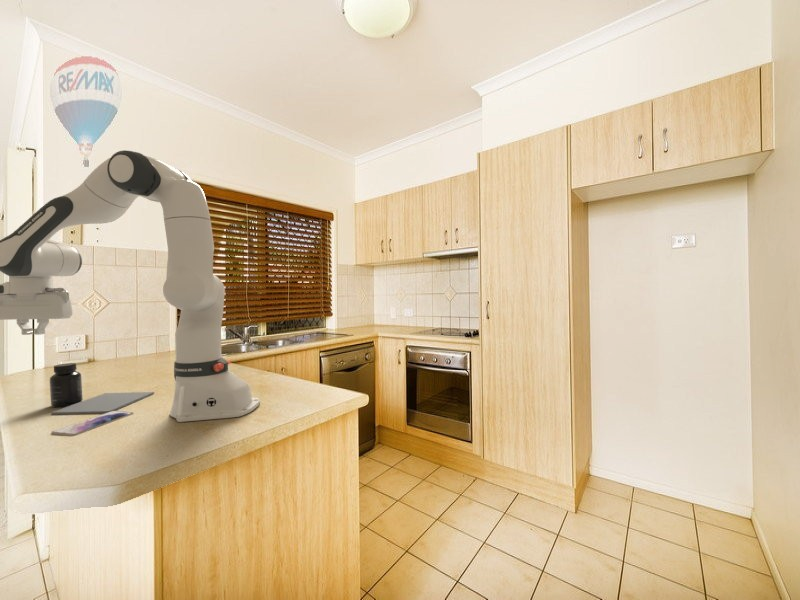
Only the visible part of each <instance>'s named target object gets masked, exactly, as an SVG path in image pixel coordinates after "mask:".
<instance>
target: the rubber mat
mask: <svg viewBox="0 0 800 600" xmlns="http://www.w3.org/2000/svg"><path fill="white" fill-rule="evenodd" d="M152 395H155V391H148V392H147V391H144V392H143V391H141V392H137V391H135V392H133V391H132V392H104V393H102V394H99V395H96V396H93V397H91V398H90V397H89V398H87V399H85V400H82V402H79V403H76V404H73V405H71V406H67V407H61V408H60V409H57V410H53V411H51V413H50V415H55V416H56V415H83V414H84V415H85V414H87V415H89V414H92V415H93V414H105V413H108V412H111V411H119V410H120V409H123V408H125V407H127V406H129V405H132V404H134V403H137V402H138V401H141V400H144V399H145V398H148V397H151V396H152Z"/></svg>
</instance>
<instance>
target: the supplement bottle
mask: <svg viewBox="0 0 800 600" xmlns="http://www.w3.org/2000/svg"><path fill="white" fill-rule="evenodd" d="M77 369H78V368H77V363H76V362H69V363H68V362H67V363H61V364H55V365H54V366H53V373H54V374H53V375H51V376H50V377H49V391H50V392H49V394H50V405H51V408H56V409H57V408H65V407H68V406H71V405H73V404H76V403H79V402H82V401H84V400H83V383H82V382H83V381H82V374H81V372H79V371H77Z"/></svg>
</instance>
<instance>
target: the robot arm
mask: <svg viewBox="0 0 800 600" xmlns="http://www.w3.org/2000/svg"><path fill="white" fill-rule="evenodd" d="M138 197H141V198H144V199H147V200H148V201H151V202H155V203H160V204H161V207H162V215H163V222H164V230H165V231H164V232H165V236H166V237H165V238H166V244H167V262H166V263H167V265H166V275H165V276H166V277H165V281H164V284H163V288H162V292H163V296H164V298H165V300H166V301H167V303H169V304H170V305H171V306H172V307H174V308H175V309H178V310H180V314H179V315H180V316H179V320H178V325H177V328H176V331H175V339H174V341H175V342H174V343H175V361H174V363H173V377H174V381H175V383H174V384H175V385H174V386H175V387H174V396H173V401H172V405H171V409H170V412H169V416H170V417H172V418H175V419H176V422H178V423H184V422H193V421H194V422H196V421H205V420H206V421H207V420H217V419H218V420H219V419H228V418H230V419H231V418H239V417H242V416H244V415H245V416H246V415H247V414H249V413H251V412H252V411H254V410H255V409H257V407H259V406H260V398H258V397H254V396H252V391H251V387H250V385H249V383H248V382H247V381H246V380H244V379H242V378H241V377H239V376H237V375H236V374H235V373H233V372H232V371H230V370H229V365H231V359H228V360H227V359H225V358H223V357H222V323H223V316H224V315H223V314H224V305H225V294H226V288H225V285H224V283H223V281H222V280H221V279H220V278H219V277H218V276H217V275H215V274H214V252H215V243H214V234H213V229H212V221H211V214H210V211H209V205H208V201H207V199H206V196H205V192H204V191H203V189H202V188H201V186H200V185H199V184H198V183H196V182H194V181H192V179H191V178H190V177H189V176H188V175H187V174H186V173H184V172H183V171H181V170H179V169H175V168H174V167H172V166H170V165H169V164H166V163H165V162H163V161H161V160H159V159H156V158H153V157H151V156H147V155H144V154H142V153H141V152H137V151H134V150H133V151H132V150H118V151H116V152H115V153H113V154H112V155H111V157H108V158H107V159H106V160H104V161H103V162H102V163H101V164H99V165H98V166H96V168H95V169H94V170H93V171H91V173H90V174H89V175H88V176H87V177H86V178H85V180H84V181H83V182H82V183H81V184H80V185H78V186H77V187H76V188H75V189H73V190H71V191H70V192H68V193H65V194H63V195H61V196H58V197H55V198H52V199H51V200H49V201H48V202H46V203H44V204H43V206H41V207H40V208H38V210H37V211H35V213H33V214H32V215H31V216H30V217H28V219H27V220H26V221H25V222H24V223H22V224H21V225H20V226H19V227H17V229H15V230H14V231H13V232H12V233H11V234H9V235H7V236H5V237H3V238H2V239H0V272H1V273H3V274H4V275H6V276H7V277H8V281H5V282H3V283H0V320H2V321H3V320H8V321H10V320H12V321H13V320H16V325H17V326H18V327H19V328H20V329H21V330H20V331H21V335H23V336H27V335H29V336H30V335H39V336H40V335H45V334H46V330H45V329H46V328H47V326H48V325H49V324H50V320H60V319H61V320H62V319H63V320H64V319H70V318H71V317H72V315H73V307H72V302H71V299H70V292H69V291H68V290H66V289H65V288H64V287H54V282H53V281H54V280H53V277H69V276H74V275H76V274H77V273H78V272H79V271H80V270H81V268H82V265H83V259H82V254H81V253H80V252H79V250H78V249H77V248H76V247H74V246H72V245H68V244H64V243H62V242H61V243H60V242H58V241H55V240H53V239H52V237H53V236H55V235H56V234H57V232H59V231H61V230H63V229H65V228H68V227H71V226H79V225H89V224H90V225H92V224H95V225H96V224H108V223H112V222H116V221H117V220H118V219H120V218H121V217H122V216H123V215H124V214H126V212H127V211H128V209H129V208H131V206H132V205H133V203H134V202H135V200H136V199H137V198H138ZM30 320H36V323H37V324H38V325H37V327H36V328H33V327H32V328H31V327H30V326H29V323H30Z"/></svg>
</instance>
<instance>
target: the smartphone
mask: <svg viewBox="0 0 800 600" xmlns="http://www.w3.org/2000/svg"><path fill="white" fill-rule="evenodd" d="M132 415H134V412H132V411H122V410H121V411H120V410H116V411H111V412H108V413H101V414H100V415H97V416H93V417H91V418H88V419H85V420H82V421H79V422H76V423H73V424H70V425H67V426H65V427H61V428H58V429H56V430H53V431H51V433H50V434H51V435H53V434H54V435H55V436H65V437H75V436H79V435H81V434H83V433H86V432H89V431H92V430H94V429H97V428H100V427H103V426H105V425H107V424H111V423H113V422H116V421H118V420H121V419H123V418H127V417H129V416H132Z"/></svg>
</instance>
